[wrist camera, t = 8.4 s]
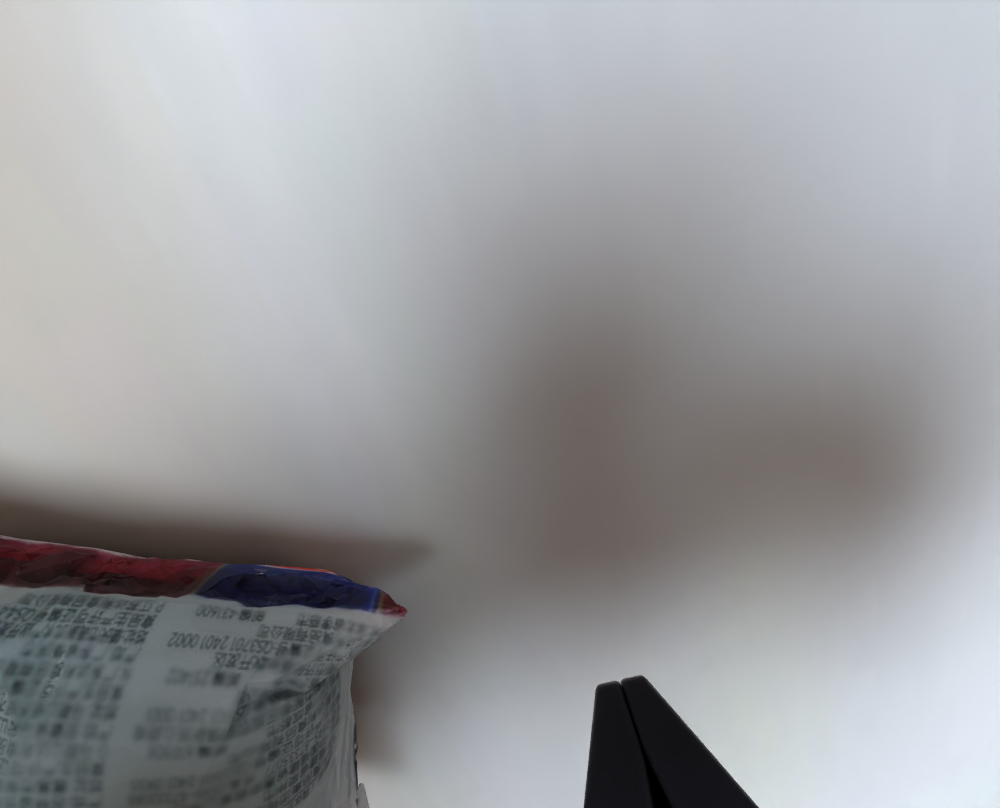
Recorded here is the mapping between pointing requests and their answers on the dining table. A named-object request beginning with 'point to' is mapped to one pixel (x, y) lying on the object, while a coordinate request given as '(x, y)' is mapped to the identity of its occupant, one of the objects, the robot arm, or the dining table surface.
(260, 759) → the packaged food
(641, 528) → the dining table surface
